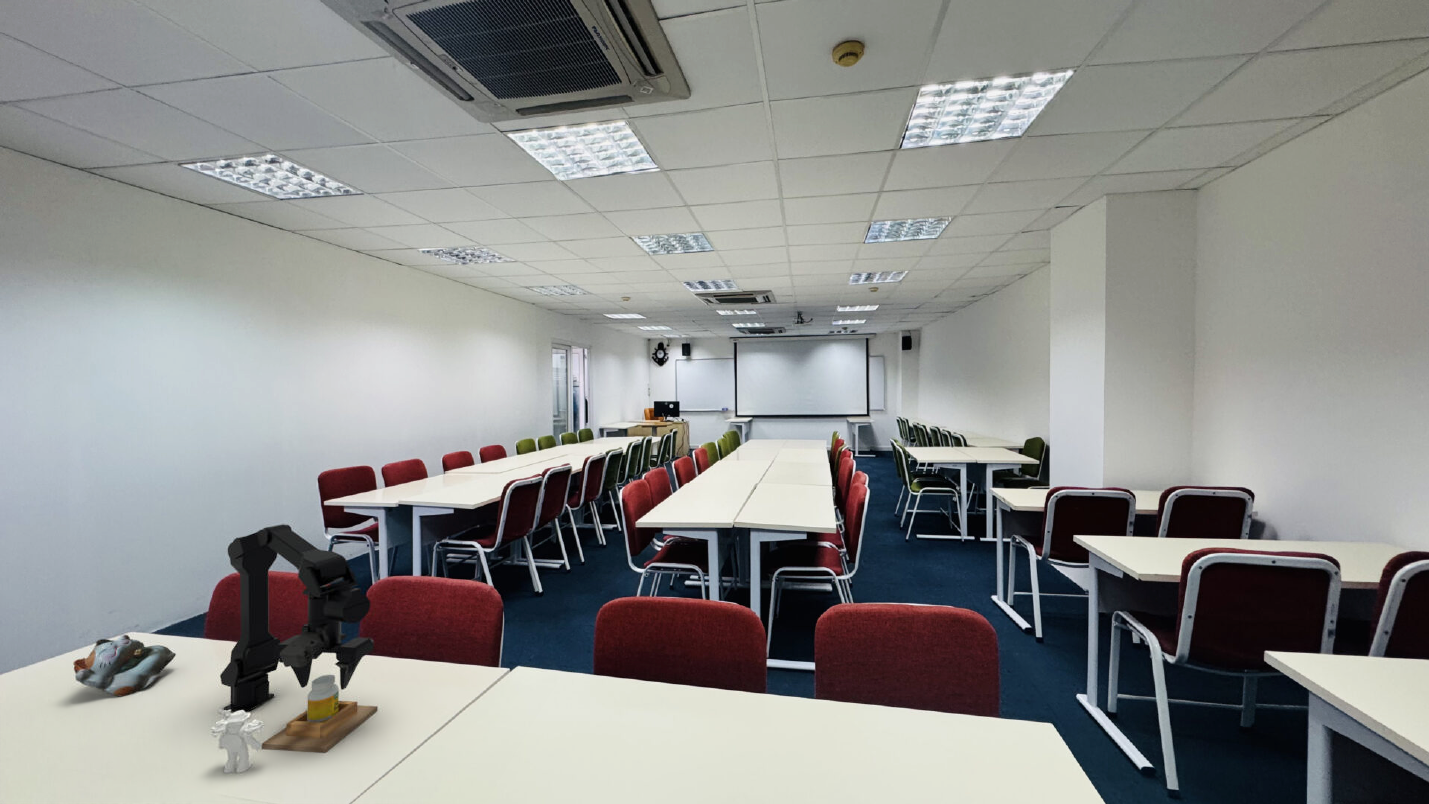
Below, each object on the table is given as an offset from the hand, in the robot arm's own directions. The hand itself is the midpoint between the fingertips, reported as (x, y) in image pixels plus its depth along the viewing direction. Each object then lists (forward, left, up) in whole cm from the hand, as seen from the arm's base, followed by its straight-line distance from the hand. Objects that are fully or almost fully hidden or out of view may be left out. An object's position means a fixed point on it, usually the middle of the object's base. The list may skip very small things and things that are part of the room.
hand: (324, 687), depth 109 cm
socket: (0, 0, -9) cm, 9 cm away
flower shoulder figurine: (-6, -12, -9) cm, 17 cm away
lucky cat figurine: (-63, +11, -9) cm, 64 cm away
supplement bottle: (0, 0, -8) cm, 8 cm away
